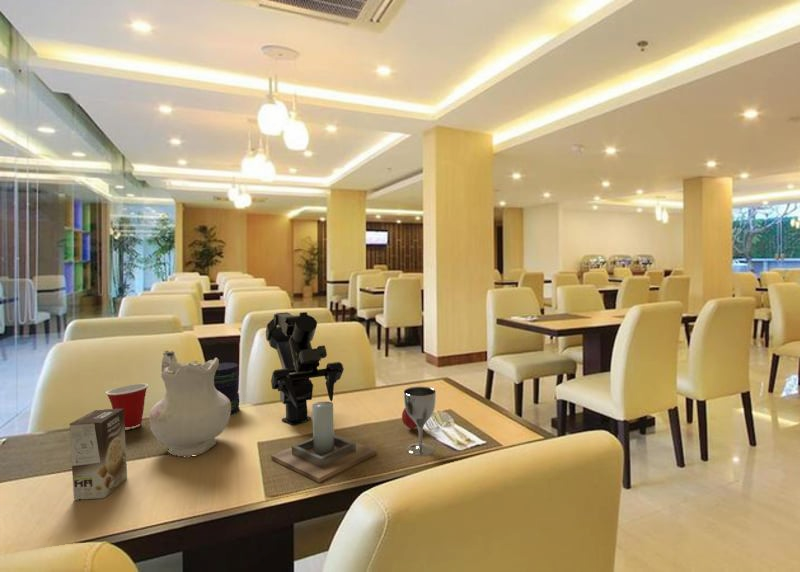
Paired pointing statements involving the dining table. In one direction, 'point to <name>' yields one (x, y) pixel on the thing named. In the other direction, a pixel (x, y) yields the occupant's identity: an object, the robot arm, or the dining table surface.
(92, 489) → the coffee box
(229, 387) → the storage jar
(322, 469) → the collar board
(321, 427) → the ceramic canister
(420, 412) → the wine glass
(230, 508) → the dining table surface
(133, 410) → the plastic cup
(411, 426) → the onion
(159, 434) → the ceramic pitcher
